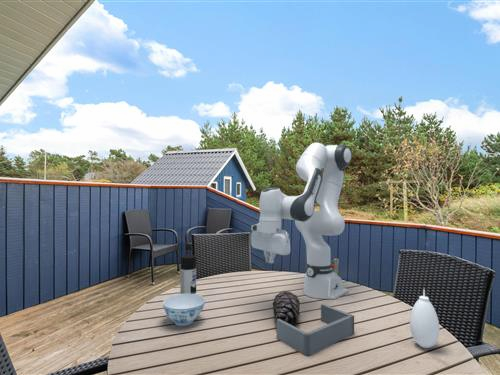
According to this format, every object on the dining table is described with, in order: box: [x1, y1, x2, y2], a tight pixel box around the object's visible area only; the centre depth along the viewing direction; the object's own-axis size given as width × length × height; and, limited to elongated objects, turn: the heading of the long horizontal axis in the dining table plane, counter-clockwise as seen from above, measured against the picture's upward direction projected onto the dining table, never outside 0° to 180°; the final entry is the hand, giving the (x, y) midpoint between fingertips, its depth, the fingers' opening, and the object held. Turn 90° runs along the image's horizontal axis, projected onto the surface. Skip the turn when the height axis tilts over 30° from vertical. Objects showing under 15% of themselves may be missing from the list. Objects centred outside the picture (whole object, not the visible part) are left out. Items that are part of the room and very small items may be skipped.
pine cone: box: [272, 290, 301, 327], centre depth 107 cm, size 10×18×10 cm, turn 178°
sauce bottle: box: [409, 288, 440, 349], centre depth 91 cm, size 8×8×18 cm
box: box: [276, 303, 355, 357], centre depth 97 cm, size 23×13×6 cm, turn 127°
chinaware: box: [162, 293, 206, 327], centre depth 107 cm, size 15×15×8 cm
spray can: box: [179, 254, 197, 294], centre depth 125 cm, size 7×7×20 cm
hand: (269, 262), depth 116 cm, fingers closed
